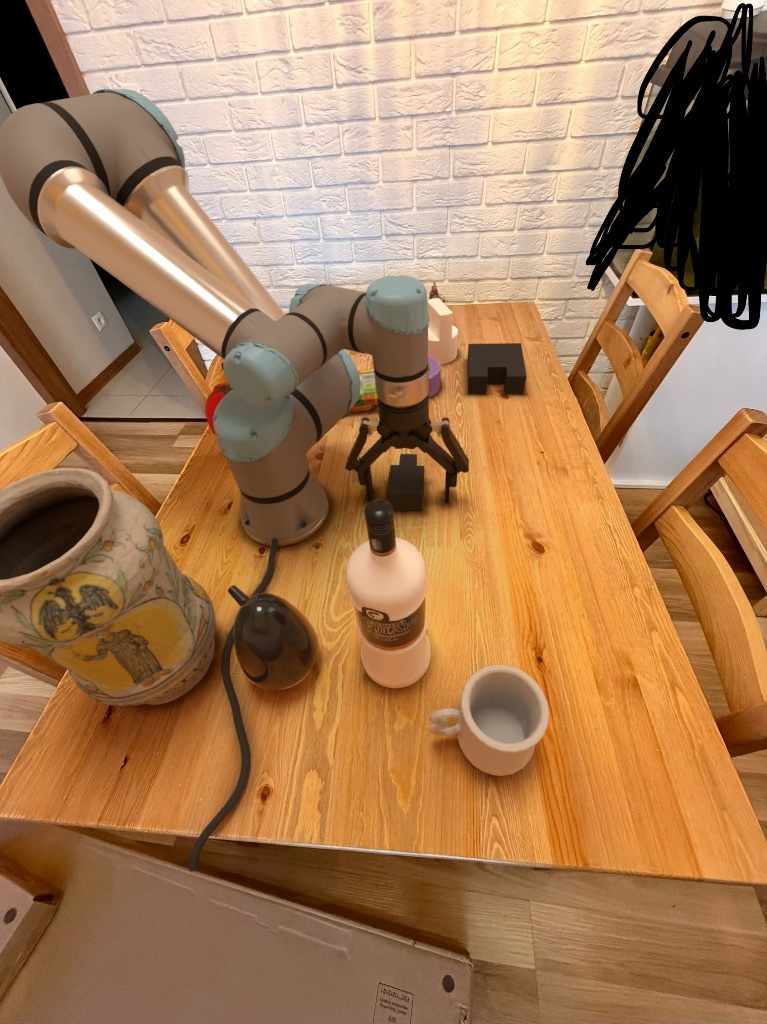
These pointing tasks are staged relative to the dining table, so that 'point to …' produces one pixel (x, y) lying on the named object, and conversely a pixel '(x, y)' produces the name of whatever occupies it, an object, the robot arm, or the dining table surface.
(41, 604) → the vase
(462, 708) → the mug
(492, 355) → the notch pad
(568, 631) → the dining table surface
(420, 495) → the pad
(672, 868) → the dining table surface
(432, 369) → the tape roll
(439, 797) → the dining table surface
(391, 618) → the vodka
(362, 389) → the puzzle game
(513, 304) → the dining table surface
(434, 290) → the figurine
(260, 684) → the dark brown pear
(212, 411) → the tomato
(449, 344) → the cylinder with rectangular tab
